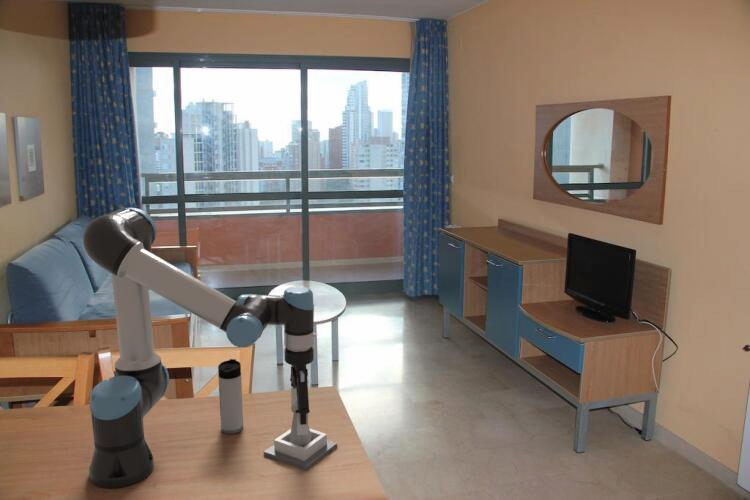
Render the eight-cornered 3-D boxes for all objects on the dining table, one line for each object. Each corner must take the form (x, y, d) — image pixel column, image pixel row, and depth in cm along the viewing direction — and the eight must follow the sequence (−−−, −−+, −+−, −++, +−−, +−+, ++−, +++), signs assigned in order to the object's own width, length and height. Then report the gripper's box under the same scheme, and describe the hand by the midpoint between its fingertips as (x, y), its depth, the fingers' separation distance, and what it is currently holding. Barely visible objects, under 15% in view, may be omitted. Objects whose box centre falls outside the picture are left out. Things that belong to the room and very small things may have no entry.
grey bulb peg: (310, 453, 169) (309, 408, 166) (288, 452, 169) (287, 408, 166) (312, 441, 175) (311, 397, 172) (291, 441, 175) (290, 397, 172)
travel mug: (246, 423, 187) (243, 359, 182) (239, 434, 180) (236, 368, 176) (225, 422, 187) (222, 358, 183) (217, 433, 181) (214, 367, 176)
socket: (263, 454, 170) (263, 441, 169) (296, 432, 182) (296, 419, 181) (305, 470, 163) (305, 456, 162) (337, 446, 175) (337, 432, 174)
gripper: (320, 364, 155) (320, 443, 160) (307, 329, 178) (307, 399, 183) (289, 366, 153) (290, 447, 158) (279, 330, 177) (280, 401, 182)
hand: (299, 421), depth 171 cm, fingers open, 13 cm apart
